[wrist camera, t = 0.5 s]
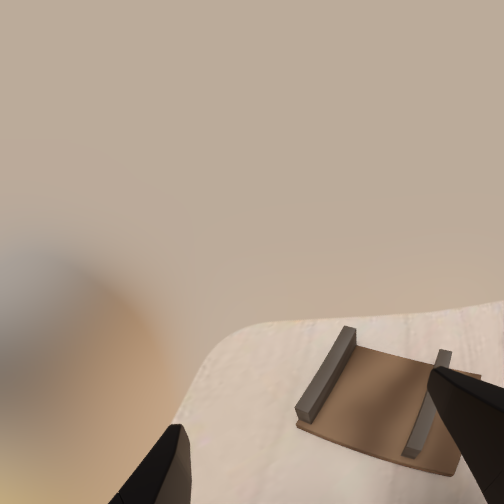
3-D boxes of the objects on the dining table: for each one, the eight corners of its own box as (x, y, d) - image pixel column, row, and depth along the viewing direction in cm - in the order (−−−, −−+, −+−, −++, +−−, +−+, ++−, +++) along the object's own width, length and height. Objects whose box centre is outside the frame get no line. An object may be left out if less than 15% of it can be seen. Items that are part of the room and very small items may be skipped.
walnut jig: (478, 379, 19) (490, 359, 17) (450, 476, 13) (465, 466, 12) (345, 346, 27) (344, 325, 26) (297, 427, 22) (291, 412, 20)
